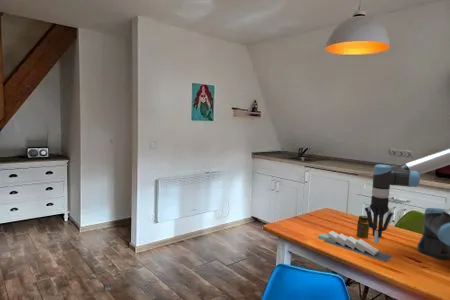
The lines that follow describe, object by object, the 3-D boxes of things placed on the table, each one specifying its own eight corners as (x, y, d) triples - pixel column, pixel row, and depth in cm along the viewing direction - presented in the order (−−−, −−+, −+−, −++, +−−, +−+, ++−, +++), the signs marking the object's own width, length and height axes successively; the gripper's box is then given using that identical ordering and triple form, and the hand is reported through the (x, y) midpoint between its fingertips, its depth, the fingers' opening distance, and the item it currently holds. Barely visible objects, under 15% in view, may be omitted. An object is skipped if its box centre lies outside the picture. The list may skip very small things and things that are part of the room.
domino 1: (339, 238, 168) (322, 233, 175) (335, 240, 165) (318, 235, 172) (339, 241, 168) (322, 235, 175) (335, 243, 165) (318, 238, 172)
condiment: (371, 238, 175) (372, 217, 174) (362, 240, 171) (364, 220, 170) (359, 233, 182) (361, 214, 180) (350, 236, 177) (352, 216, 176)
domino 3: (358, 244, 161) (341, 233, 167) (354, 246, 157) (337, 235, 164) (357, 246, 161) (340, 235, 168) (353, 249, 158) (336, 238, 164)
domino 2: (349, 241, 164) (332, 230, 171) (345, 243, 161) (328, 232, 167) (347, 243, 165) (331, 233, 171) (343, 246, 161) (327, 235, 168)
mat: (392, 256, 151) (392, 255, 151) (385, 262, 144) (385, 262, 144) (331, 237, 174) (331, 236, 174) (322, 242, 167) (322, 241, 167)
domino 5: (378, 250, 154) (360, 238, 160) (375, 253, 150) (356, 241, 157) (377, 253, 154) (359, 241, 161) (373, 256, 151) (355, 243, 157)
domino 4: (368, 247, 157) (350, 236, 164) (364, 250, 154) (346, 238, 160) (367, 249, 158) (349, 238, 164) (363, 252, 154) (345, 240, 161)
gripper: (397, 197, 148) (393, 244, 150) (369, 192, 157) (365, 237, 159) (392, 200, 142) (387, 249, 145) (363, 194, 152) (359, 240, 154)
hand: (376, 242), depth 152 cm, fingers closed
